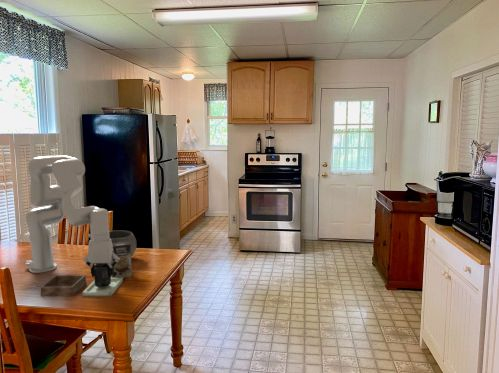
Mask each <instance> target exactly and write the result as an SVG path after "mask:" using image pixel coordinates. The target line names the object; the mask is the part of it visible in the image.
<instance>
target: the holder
mask: <svg viewBox="0 0 499 373" xmlns="http://www.w3.org/2000/svg"><path fill="white" fill-rule="evenodd" d="M86 284H87V276H86V274H82V275H81V274H77V275H76V274H75V275H71V274H70V275H67V274H66V275H64V274H63V275H61V274H60V275H58V274H57V275H55V276H53V277H52V278H50V279H49V280H48V281H47V282H46V283H44V284H43V285H41V287H39V288H40V289H39V290H40V291H39V292H40V297H74V296H75V295H76V294H77V293H79V292H80V290H81V289H83V287H84V286H85V285H86ZM57 285H71V286H57Z"/></svg>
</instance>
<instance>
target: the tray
mask: <svg viewBox="0 0 499 373" xmlns="http://www.w3.org/2000/svg"><path fill="white" fill-rule="evenodd" d="M123 282H124V278H112V277H111V284H110V285H109V286H106V287H96V286H95V282H94V280H93V281H92V282H91V283H90V284H89V285H88V286H87V287H86V288H85V289H84V290H83V291H82V293H81V294H82V297H112V295H113V294H114V293H115V292H116V290H118V288H119V287H120V286H121V284H122V283H123Z"/></svg>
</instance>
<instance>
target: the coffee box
mask: <svg viewBox="0 0 499 373" xmlns="http://www.w3.org/2000/svg"><path fill="white" fill-rule="evenodd" d="M112 245H113V251H114V254H115V255H117V256H118V257H119V258H120V260H119V261H118V262H117V263H116V264H115V265H114V266H113V267H114V274H113V275H112V276H111V278H123V279H124V278H129V277H132V276H133V275H132V274H133V273H132V272H133V271H132V257H131V247H130V243H129V242H128V241H127V242H119V243H112ZM112 261H113V263H114V261H115V259H113V260H112Z"/></svg>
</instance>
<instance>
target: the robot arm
mask: <svg viewBox="0 0 499 373" xmlns="http://www.w3.org/2000/svg"><path fill="white" fill-rule="evenodd" d="M27 164H28V166H27V169H28V173H29V177H30V181H29V182H30V185H29V186H30V188H29V201H30V204H31V205H32V206H34V207H35V208H32V209H29V210H28V211H26V214H25V222H26V224H27V228H28V234H29V241H30V242H29V244H30V253H31V254H30V255H31V260H25V261H24V262H25V263H24V266H29V272H30V273H33V274H40V273H41V274H42V273H43V274H44V273H48V272H50V271H53V270H55V269H57V268H58V263H56V262H54V252H53V250H54V249H53V242H52V241H53V240H52V233H51V232H50V230H49V229H48V228H47V226H50V225H54V224H59V223H61V222H62V221H63V219H64V217H65V219H66V220H67V222H68V223H69V225H71V226H73V227H81V226H84V225H89V230H90V233H89V234H87V238H90V240H89V241H88V247H87V255H86V256H85V257H84V258H82V261H84V263H85V265H87V266H88V268H89V269H90V274H91V277H92V278H94V266H95V265H96V263H107V264H108V265H109V277H111V276H112V275H113V274H114V267H113V266H114V265H115V264H116V263H117V262H118V261H119V260H120V258H119V257H118V256H117V255H115V254H114V251H113V245H112V241H111V239H109V231H110V223H109V211H108V210H107V209H105V208H101V207H98V206H95V205H89V206H84V207H79V208H75V206H74V205H73V203H72V199H71V198H73V197H75V196H76V195H77V194H79V193H80V192H81V191H82V190H83V188H84V186H83V183H82V181H81V180H80V178H79V177H82V176H83V175H84V174H85V173H86V166H85V164H84V162H83V161H82V160H81V159H79V158H76V157H72V156H69V155H64V154H63V155H45V156H36V157H33V158H31V159H30V160H29V161H28V163H27ZM51 174H52V175H53V176H54V178H55V180H56V182H57V183H58V184H54V185H51V178H50V175H51ZM113 259H115V261H114V263H113V261H112V260H113ZM111 278H112V277H111Z"/></svg>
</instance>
